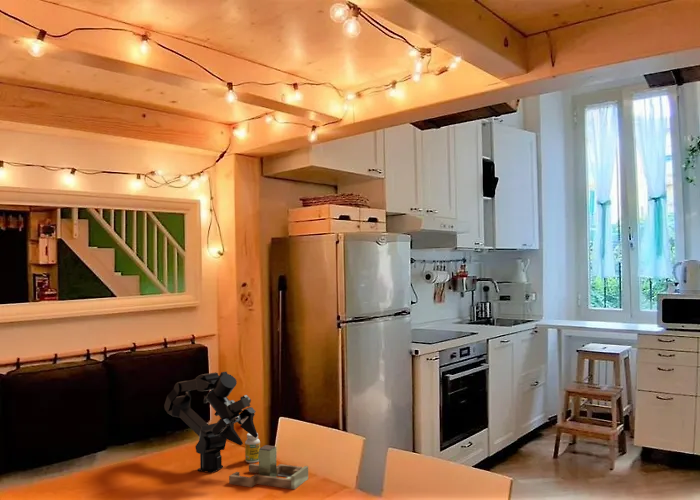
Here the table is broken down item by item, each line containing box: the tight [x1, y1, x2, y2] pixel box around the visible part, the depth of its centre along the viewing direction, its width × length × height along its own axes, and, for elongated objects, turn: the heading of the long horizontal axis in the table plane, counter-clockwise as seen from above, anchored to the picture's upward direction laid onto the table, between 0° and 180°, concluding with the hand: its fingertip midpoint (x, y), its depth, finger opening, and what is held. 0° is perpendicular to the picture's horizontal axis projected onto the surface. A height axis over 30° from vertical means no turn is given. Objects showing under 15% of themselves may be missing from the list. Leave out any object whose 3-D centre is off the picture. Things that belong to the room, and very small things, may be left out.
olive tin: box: [258, 444, 278, 477], centre depth 191 cm, size 4×4×10 cm
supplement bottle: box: [244, 432, 261, 464], centre depth 210 cm, size 5×5×10 cm
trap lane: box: [228, 463, 309, 490], centre depth 191 cm, size 22×16×4 cm
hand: (249, 440), depth 194 cm, fingers open, 9 cm apart
